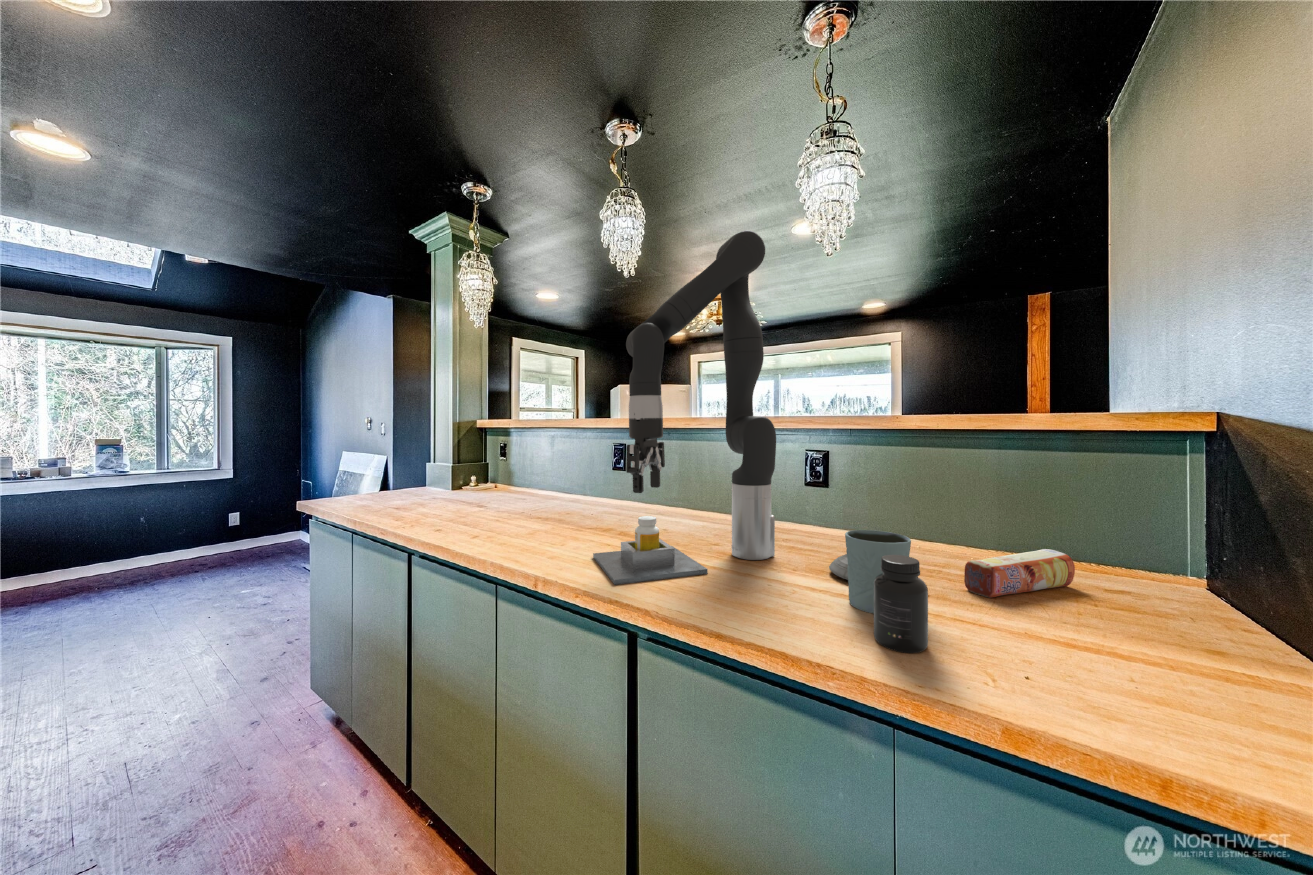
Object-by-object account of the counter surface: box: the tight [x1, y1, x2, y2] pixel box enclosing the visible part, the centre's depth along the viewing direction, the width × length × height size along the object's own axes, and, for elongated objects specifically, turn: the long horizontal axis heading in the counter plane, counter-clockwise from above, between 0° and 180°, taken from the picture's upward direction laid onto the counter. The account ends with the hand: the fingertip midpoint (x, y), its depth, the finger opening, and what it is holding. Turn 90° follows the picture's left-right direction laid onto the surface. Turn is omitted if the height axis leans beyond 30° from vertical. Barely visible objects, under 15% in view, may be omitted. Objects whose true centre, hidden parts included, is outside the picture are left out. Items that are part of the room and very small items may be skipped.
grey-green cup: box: [844, 529, 912, 615], centre depth 79 cm, size 10×10×12 cm
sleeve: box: [592, 538, 709, 586], centre depth 101 cm, size 20×20×4 cm
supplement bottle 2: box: [873, 555, 929, 654], centre depth 65 cm, size 7×7×12 cm
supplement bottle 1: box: [634, 515, 660, 550], centre depth 101 cm, size 5×5×10 cm
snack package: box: [963, 548, 1076, 599], centre depth 87 cm, size 21×7×7 cm, turn 107°
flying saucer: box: [828, 553, 849, 581], centre depth 93 cm, size 15×15×6 cm
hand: (647, 490), depth 101 cm, fingers open, 8 cm apart
